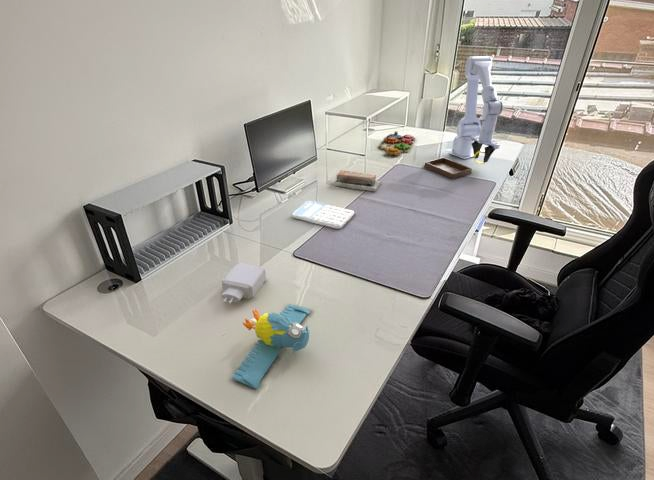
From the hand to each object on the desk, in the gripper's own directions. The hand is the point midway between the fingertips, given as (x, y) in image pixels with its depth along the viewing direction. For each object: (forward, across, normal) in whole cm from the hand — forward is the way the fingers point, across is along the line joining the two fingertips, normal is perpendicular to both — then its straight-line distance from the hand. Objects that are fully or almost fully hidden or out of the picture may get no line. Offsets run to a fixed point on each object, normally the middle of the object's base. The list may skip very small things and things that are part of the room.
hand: (480, 160), depth 191 cm
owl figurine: (+5, +49, -132) cm, 141 cm away
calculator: (+5, 0, -86) cm, 86 cm away
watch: (+2, 0, 0) cm, 2 cm away
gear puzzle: (+4, -44, -12) cm, 46 cm away
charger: (+5, +26, -131) cm, 134 cm away
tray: (+4, -7, -13) cm, 15 cm away
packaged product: (+4, -16, -58) cm, 60 cm away
